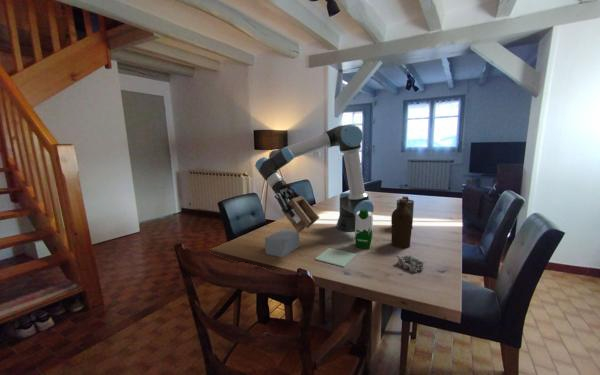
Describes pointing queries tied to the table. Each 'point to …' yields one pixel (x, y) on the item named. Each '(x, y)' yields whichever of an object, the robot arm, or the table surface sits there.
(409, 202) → the canister
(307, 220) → the grooved wooden block
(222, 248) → the table surface
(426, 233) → the table surface
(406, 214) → the olive oil
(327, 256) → the mat
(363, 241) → the milk carton
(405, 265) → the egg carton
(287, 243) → the blue-grey rectangular block
